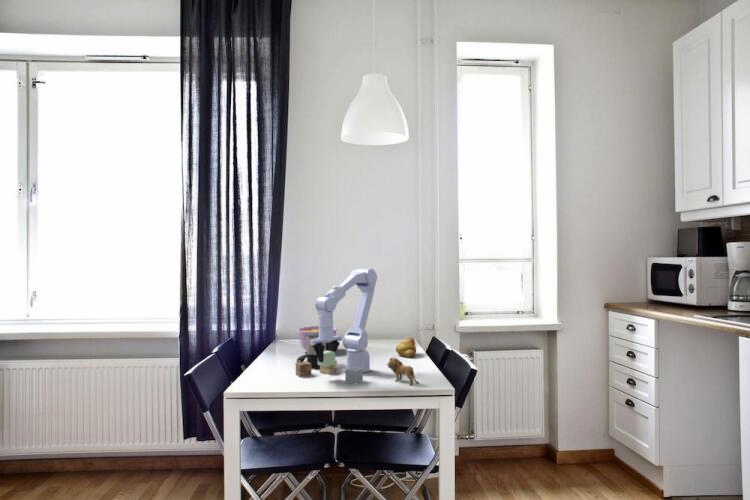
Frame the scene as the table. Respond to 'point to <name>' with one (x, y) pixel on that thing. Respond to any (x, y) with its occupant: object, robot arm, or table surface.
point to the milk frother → (312, 351)
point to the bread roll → (406, 348)
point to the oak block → (329, 369)
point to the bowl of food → (305, 330)
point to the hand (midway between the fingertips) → (326, 360)
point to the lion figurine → (401, 370)
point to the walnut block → (303, 369)
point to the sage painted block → (328, 359)
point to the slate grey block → (354, 375)
